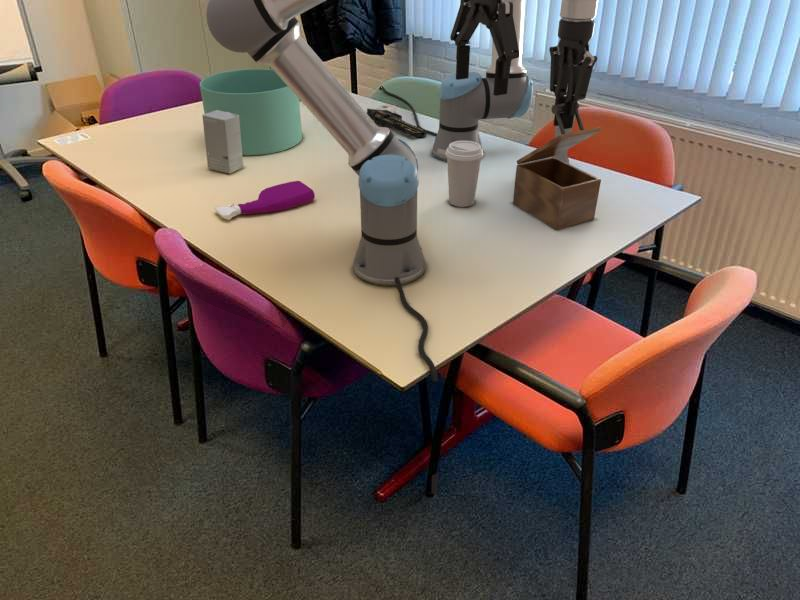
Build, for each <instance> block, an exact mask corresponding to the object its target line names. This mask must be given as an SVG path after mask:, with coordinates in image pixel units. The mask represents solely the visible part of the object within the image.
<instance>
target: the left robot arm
mask: <svg viewBox="0 0 800 600" xmlns="http://www.w3.org/2000/svg"><path fill="white" fill-rule="evenodd" d="M326 1H327V0H208V3H207V6H206V11H205V12H206V13H205V14H206V15H205V18H206V23H207V27H208V30H209V31H210V34H211V35H212V38H214V40H215V41H216V42H217V43H218V44H219V45H221V46H222V47H223V48H225V49H227V50H228V51H231V52H234V53H241V54H242V53H243V54H244V53H247V54H248V55H249V56H250V58H251V59H252V60H253V61H254V62H255V63H256V64H258V65H266V66H269V67H270V69H273V70H274V71H275V73H276V74H277V75H278V76H279V77H280V78H281V79H282V80H283V81H284V83H285V84H286V85H287V86H288V87H289V88H290V89H291V90H292V92H293V93H294V94H295V95H296V96H297V97H298V98H299V99H300V100H299V101H300V103H302V104H303V105H304V107H306V109H307V110H309V112H310V113H311V114H312V115H313V117H315V118H316V120H317V121H318V122H319V123H320V125H322V126H323V128H324V129H325V130H326V131H327V132H328V133H329V134H330V135H331V136H332V138H333V139H334V140H335V141H336V142H337V143H338V144H339V145H340V147H341V148H342V149H343V150H344V151H345V152H346V153H347V157H348V158H347V159H348V162H347V164H348V166H349V167H350V169H352V170H353V172H354V173H355V174H356V175H357V176H358V188H359V200H360V201H359V202H360V203H359V204H360V239H359V242H358V247H357V249H356V252H355V256H354V259H353V270H354V273H355V275H356V276H357V277H358V278H359V279H360V280H362V281H364V282H366V283H369V284H370V285H371V284H372V285H376V286H382V287H395V286H396V288H397V291H398V295H399V300H400V302H401V304H402V306H403V307H404V308H405V309H406V311H407V312H409V313H410V314H411V315H413V316H414V317H415V318H417V320H419V322H420V323H421V326H422V330H421V333H420V336H419V340H418V347H417V348H418V354H419V355H420V357H421V359H422V360H423V361H424V362H425V363H426V365H427V366H428V369H429V371H430V376H431V379H432V381H433V382H438V381H439V376H438V372H437V369H436V366H435V364H434V362H433V361H432V359H431V357H430V356H429V355H428V354H427V353H426V351H425V346H424V345H425V341H426V340H427V339H426V338H427V336H428V332H429V325H428V322H427V319H425V317H424V316H423V315H422V314H421V313H420V312H418V311H417V310H416V309H414V308H413V307H412V306H411V305H410V303H408V301H407V298H406V295H405V291H404V288H403V286H402V285H406V284H410V283H413V282H415V281H417V280H418V279H420V278H421V276H423V274H424V273H425V270H426V260H425V255H424V252H423V250H422V249H423V248H422V247H421V244H420V241H419V238H418V188H419V184H420V183H419V182H420V181H419V163H418V158H417V156H416V153H415V152H414V150H413V148H412V147H411V145H409V144H408V142H406V141H404V140H403V139H401V138H398V137H397V136H396V135H395V134H394V133H393V131H392V130H391V129H390V128H388V127H387V126H386V127H385V126H378V125H377V124H376V122H374V120H372V119H371V118H370V117H369V116H368V114H367V111H365V110H364V108H363V107H362V106H361V105H360V104H359V102H358V101H357V100H356V99H355V98H354V96H352V94H351V93H350V92H349V91H348V89H347V88H346V87H345V86H344V85H343V84H342V83H341V82H340V80H339V79H338V78H337V76H335V74H334V73H333V72H332V71H331V70H330V69H329V68H328V66H327V65H326V64H325V63H324V62H323V60H322V59H321V58H320V56H318V54H317V53H316V52H315V51H314V49H313V48H312V47H311V46H310V45H309V44H308V43H307V41H306V40H305V39H304V38H303V37H302V35H301V33H300V28H301V27H300V21H299V20H298V19H297V18H296V17H298V16H300V15H302V14H303V13H306V12H307V11H309V10H310V9H313V8H314V7H316V6H318V5H320V4H322V3H324V2H326ZM496 19H497V21H496ZM480 24H481V25H484V26H485V28H486V29H488V30H489V33H490V36H491V39H493V42H494V45H495V48H496V51H497V53H498V56H499V58H498V59H497V60H496V68H495V81H494V94H493V95H495V96H498V95H504V94H507V88H508V78H509V76H510V67H511V61H512V59H515V58H519V56H520V53H519V47H518V42H517V36H516V31H515V25H514V19H513V3H512V2H505V3H502V0H460V5H459V8H458V11H457V14H456V17H455V20H454V23H453V26H452V30H451V33H450V40H451V41H453V42H454V45H455V46H456V50H455V51H456V52H455V53H456V54H455V60H456V63H455V64H456V66H455V74H456V79H457V80H460V79H467V78H468V77H469V73H470V60H471V59H470V57H471V45H470V44H471V42H470V40H471V38H472V37H473V36H474V33H475V31H476V30H477V28H478V26H479V25H480ZM512 51H513V52H512ZM504 52H505V54H504ZM437 492H438V473H434V474H431V494H433V495H436V494H437Z"/></svg>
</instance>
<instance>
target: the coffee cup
mask: <svg viewBox="0 0 800 600" xmlns="http://www.w3.org/2000/svg"><path fill="white" fill-rule="evenodd" d="M445 155H446V156H447V161H446V162H447V181H448V182H447V183H448V184H447V185H448V202H449V204H450V205H452V206H454V207H457V208H466V207H470V206H472V205H474V204H475V201H476V200H475V199H476V195H477V194H476V193H477V188H478V180H479V174H480V168H481V163H482V158H483V157H484V150H482V149H481V146H480V144H478V143H476V142H472V141H455V142H452V143H450V144H449V147H448V148H447V150H446V152H445Z"/></svg>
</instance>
